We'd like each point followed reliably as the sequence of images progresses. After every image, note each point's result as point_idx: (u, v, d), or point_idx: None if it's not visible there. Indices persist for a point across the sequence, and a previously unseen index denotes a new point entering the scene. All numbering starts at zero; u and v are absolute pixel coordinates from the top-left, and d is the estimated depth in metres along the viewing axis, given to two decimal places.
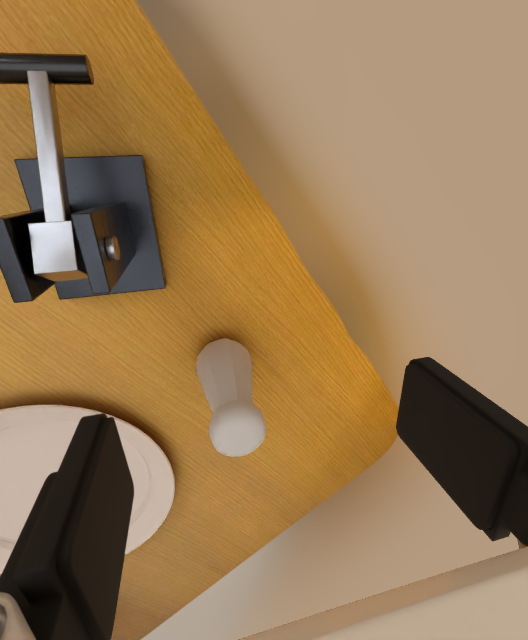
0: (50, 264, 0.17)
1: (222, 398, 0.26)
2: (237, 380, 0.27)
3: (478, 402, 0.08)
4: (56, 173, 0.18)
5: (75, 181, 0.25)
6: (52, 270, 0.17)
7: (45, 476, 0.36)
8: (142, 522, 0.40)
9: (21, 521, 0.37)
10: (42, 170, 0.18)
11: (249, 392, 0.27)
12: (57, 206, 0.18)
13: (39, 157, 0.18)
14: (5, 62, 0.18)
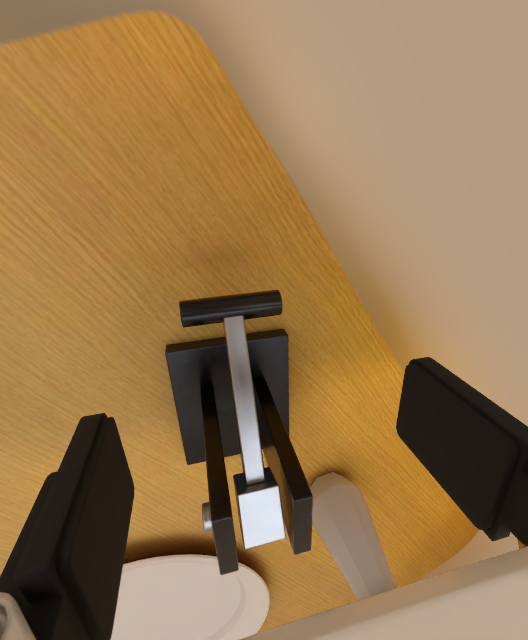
0: (260, 537, 0.16)
1: (366, 582, 0.25)
2: (374, 552, 0.26)
3: (478, 402, 0.08)
4: (255, 426, 0.17)
5: (221, 365, 0.24)
6: (262, 543, 0.16)
7: (144, 606, 0.35)
8: (231, 636, 0.40)
9: None
10: (242, 425, 0.17)
11: (386, 565, 0.26)
12: (257, 462, 0.17)
13: (239, 411, 0.17)
14: (205, 314, 0.17)
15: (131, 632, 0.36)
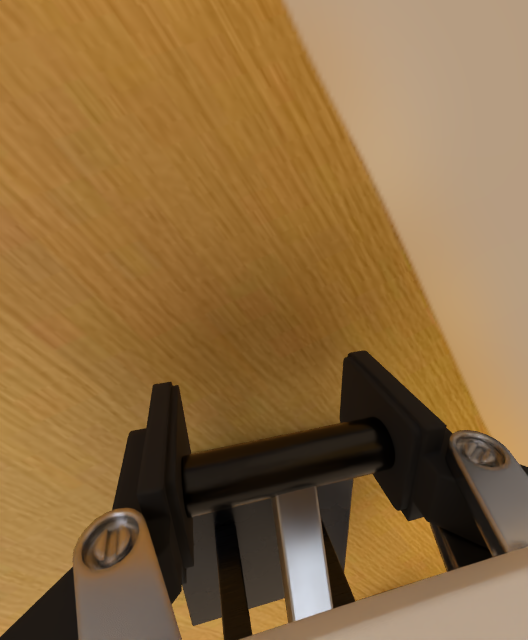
0: None
1: None
2: None
3: (395, 391, 0.09)
4: None
5: None
6: None
7: None
8: None
9: None
10: None
11: None
12: None
13: None
14: (239, 495, 0.08)
15: None
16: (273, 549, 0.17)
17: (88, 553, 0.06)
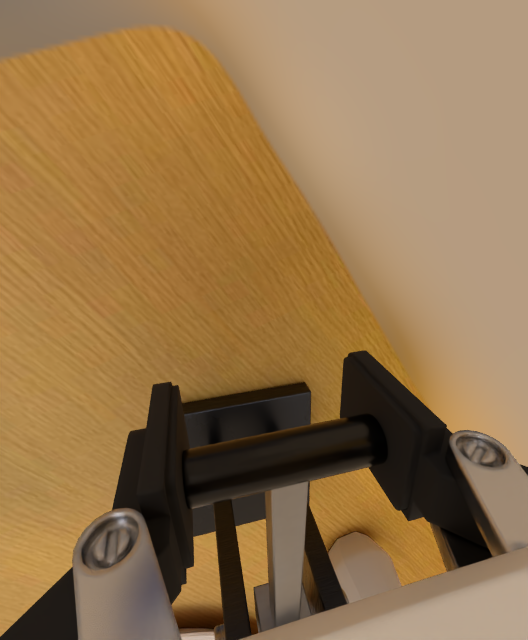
0: None
1: None
2: None
3: (396, 391, 0.09)
4: (298, 588, 0.12)
5: (233, 427, 0.20)
6: None
7: None
8: None
9: None
10: (279, 591, 0.11)
11: None
12: (293, 613, 0.13)
13: (277, 581, 0.11)
14: (238, 496, 0.08)
15: None
16: None
17: (88, 553, 0.06)
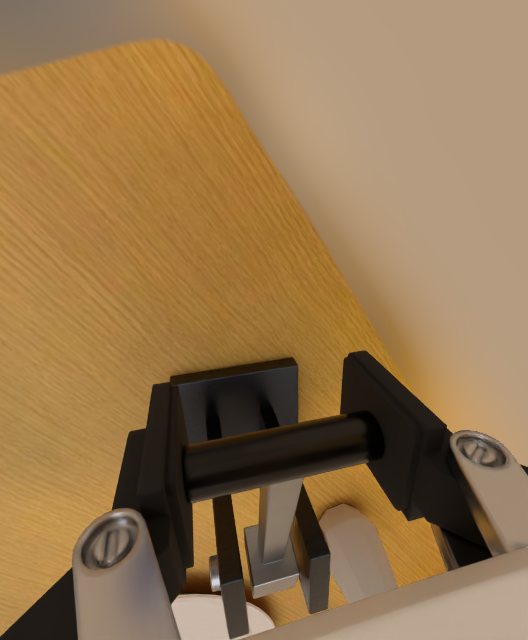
0: (270, 592, 0.16)
1: None
2: None
3: (396, 391, 0.09)
4: (285, 540, 0.13)
5: (227, 397, 0.23)
6: (271, 593, 0.16)
7: None
8: None
9: None
10: (269, 543, 0.13)
11: None
12: (279, 554, 0.14)
13: (268, 538, 0.12)
14: (237, 492, 0.08)
15: None
16: None
17: (88, 553, 0.06)
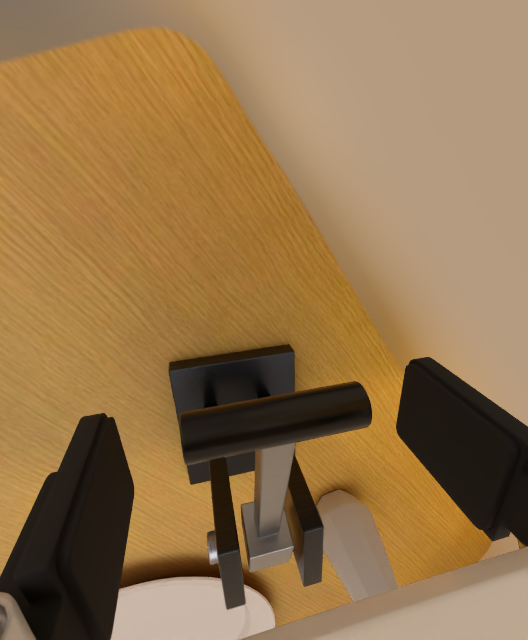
0: (266, 566, 0.17)
1: None
2: (384, 576, 0.25)
3: (478, 402, 0.08)
4: (279, 512, 0.14)
5: (225, 382, 0.23)
6: (267, 567, 0.17)
7: (145, 629, 0.34)
8: None
9: None
10: (264, 514, 0.13)
11: None
12: (274, 527, 0.15)
13: (262, 508, 0.13)
14: (232, 455, 0.09)
15: None
16: None
17: None
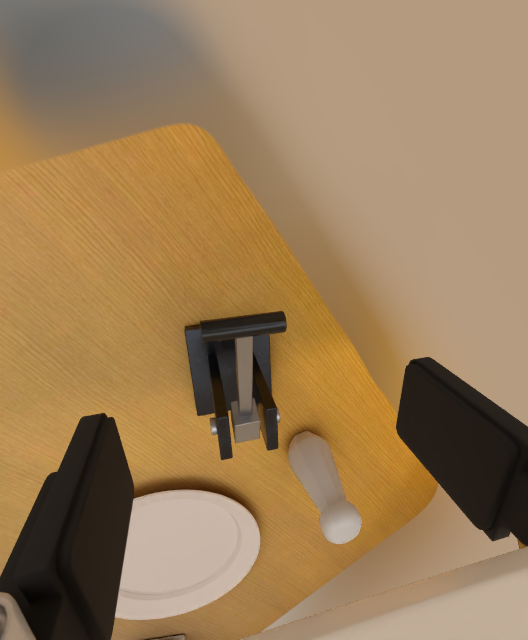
0: (245, 439, 0.28)
1: (325, 496, 0.35)
2: (332, 479, 0.36)
3: (478, 402, 0.08)
4: (250, 393, 0.25)
5: None
6: (245, 440, 0.28)
7: (161, 539, 0.45)
8: (229, 573, 0.49)
9: (137, 575, 0.46)
10: (241, 393, 0.25)
11: (341, 488, 0.36)
12: (248, 407, 0.26)
13: (240, 387, 0.24)
14: (222, 338, 0.20)
15: (150, 563, 0.46)
16: (234, 374, 0.36)
17: None
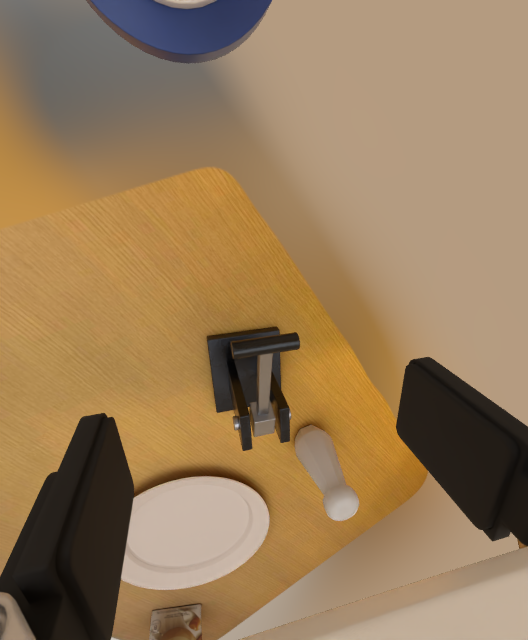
0: (262, 433, 0.33)
1: (328, 481, 0.41)
2: (334, 467, 0.42)
3: (478, 402, 0.08)
4: (268, 396, 0.30)
5: None
6: (262, 434, 0.34)
7: (182, 520, 0.51)
8: (242, 549, 0.55)
9: (161, 551, 0.52)
10: (261, 396, 0.30)
11: (342, 474, 0.42)
12: (265, 408, 0.32)
13: (260, 392, 0.30)
14: (249, 356, 0.26)
15: (173, 540, 0.52)
16: (249, 376, 0.42)
17: None
